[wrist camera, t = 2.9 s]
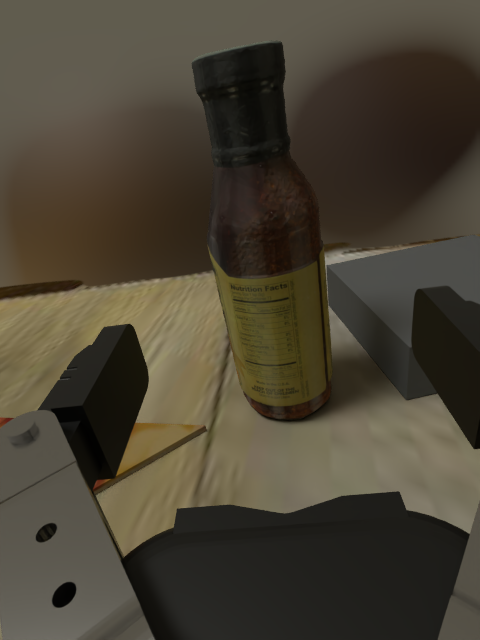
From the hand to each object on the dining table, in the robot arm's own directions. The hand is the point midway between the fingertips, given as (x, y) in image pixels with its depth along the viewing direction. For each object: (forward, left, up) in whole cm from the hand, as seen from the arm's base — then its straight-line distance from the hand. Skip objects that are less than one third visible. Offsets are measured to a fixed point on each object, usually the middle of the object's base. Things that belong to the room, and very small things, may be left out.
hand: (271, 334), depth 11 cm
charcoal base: (-16, -15, -12) cm, 25 cm away
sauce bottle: (-2, -11, -12) cm, 17 cm away
